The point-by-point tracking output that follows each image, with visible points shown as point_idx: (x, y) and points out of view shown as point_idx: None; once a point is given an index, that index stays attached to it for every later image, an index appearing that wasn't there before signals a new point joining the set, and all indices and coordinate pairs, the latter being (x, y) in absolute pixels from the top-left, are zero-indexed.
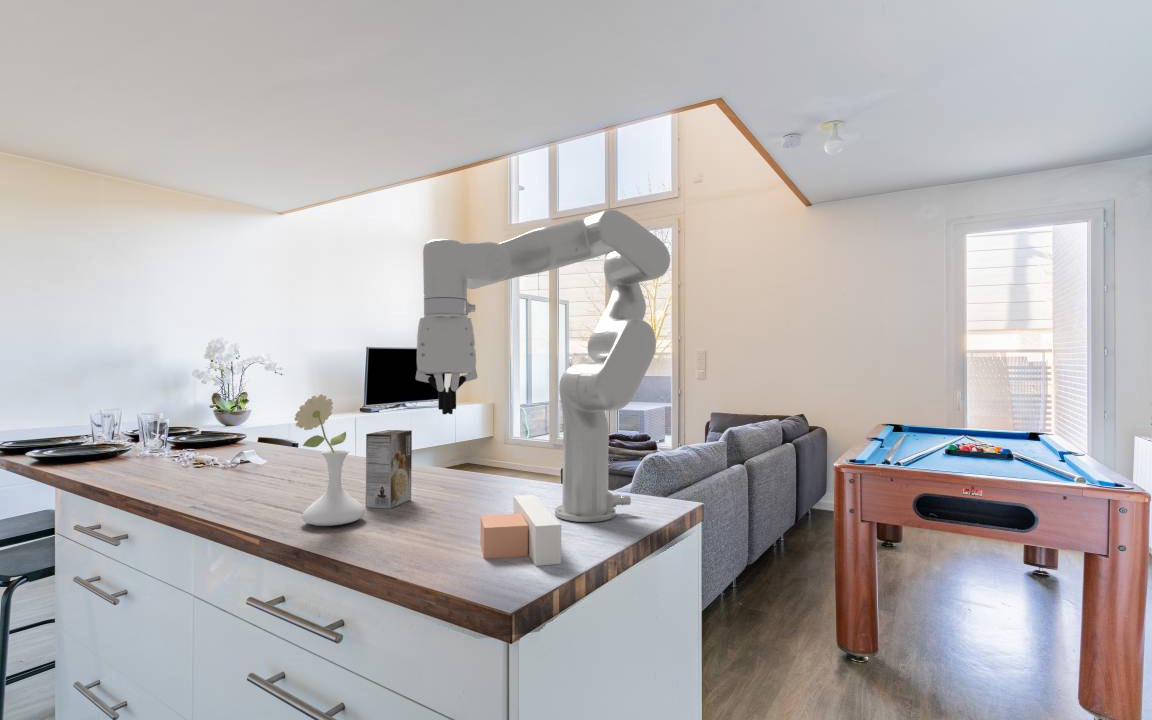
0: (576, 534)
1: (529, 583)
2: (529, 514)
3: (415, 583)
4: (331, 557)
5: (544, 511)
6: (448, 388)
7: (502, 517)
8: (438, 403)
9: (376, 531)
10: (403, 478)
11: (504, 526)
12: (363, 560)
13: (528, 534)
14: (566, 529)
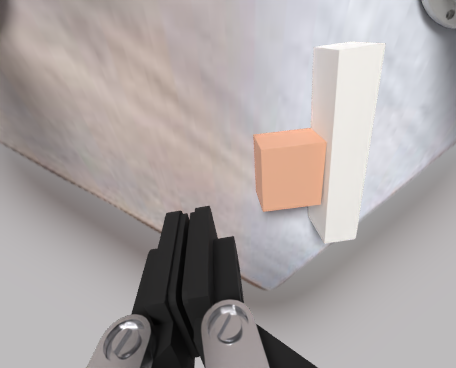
0: (399, 100)
1: (293, 251)
2: (331, 194)
3: None
4: (65, 177)
5: (357, 180)
6: (198, 348)
7: (293, 164)
8: (147, 269)
9: (62, 44)
10: None
11: (289, 207)
12: (113, 189)
13: None
14: (397, 68)
